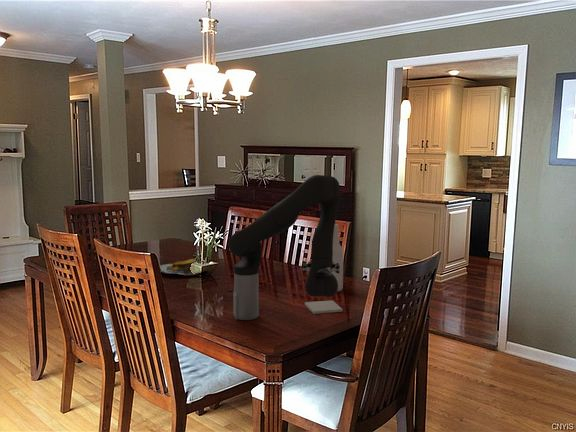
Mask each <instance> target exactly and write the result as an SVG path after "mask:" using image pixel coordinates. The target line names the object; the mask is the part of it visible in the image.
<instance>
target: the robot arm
mask: <svg viewBox="0 0 576 432" xmlns="http://www.w3.org/2000/svg"><path fill="white" fill-rule="evenodd" d="M340 195H341V185H340V182H339V180H338V179H337V178H336V177H334V176H332V175H331V176H330V175H321V174H316V175H315V174H314V175H311V176H309V177H308V178H307V179H305V180H304V181H303V182H302V183H301V184H300V185H299V186H298V187H297V188H296V189H295V190H294V191H293V192H291V193H290V194H289V195H287V196H286V197H285V198H283V199H281V201H279V202H278V203H276V204H275V205H273V206H272V207H270V209H268V210H266V211H265V212H264V213H263V214H261V215H260V216H259V217H258V218H257V219H255V220H253V222H252V223H250V224H249V225H247V226H246V227H244V228H241V229H240V230H238V231H237V232H234V233H233V234H232V235H231V236H230V238H229V241H228V249H229V252H230V253H231V254H233V255H234V256H236V257H241V259H239V261H238V262H236V263H235V265H234V266H233V275H234V276H233V278H234V279H233V280H234V281H233V288H234V290H233V291H232V293H233V294H232V296H233V297H232V298H233V301H232V303H233V312H232V313H233V317H234V319H235V320H241V321H249V320H250V321H251V320H256V319H257V318H259V315H260V314H259V312H260V311H259V269H260V266H261V264H262V263H261V262H262V261H261V260H262V242H263V241H266V240H268V239H270V238H273V237H275V236H278V235H280V234H282V233H284V232H285V231H286V230H288V229H290V228H291V227H292V226H293V225H295V223H297V220H298V218H299V215H300V214H301V213H302V212H303V211H304V210H306V209H308V208H309V207H312V206H313V205H317V204H320V216H319V221H318V223H317V226H316V228H315V231H314V232H313V236H312V239H311V244H310V245H311V249H310V251H311V252H310V253H311V255H310V256H311V258H310V260H309V261H307V262H302V273H306V272H308V275H307V278H306V281H305V286H304V288H305V292H306V294H307V295H308V296H310V297H326V298H327V297H328V298H329V297H330V298H331V297H334V296H335V295H336V294H337V290H338V282H337V279H336V277H335V276H334V275H333V274H332V271H335V272H336V273H340V266H339V263H336V264H334V262H333V258H332V257H333V234H334V226H335V224H336V219H337V212H338V206H339V201H340Z"/></svg>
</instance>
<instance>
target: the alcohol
mask: <svg viewBox="0 0 576 432" xmlns="http://www.w3.org/2000/svg"><path fill="white" fill-rule="evenodd" d="M339 227H340V225H339V224H338V223H335V226H334V234H333V257H332V258H333V262H334V264H336V263H339V266H340V273H336V272H335V271H332V274H333V275H334V276H335V277H336V279H337V282H338V290H337V292H341V291H342V290H343V288H344V287H343V286H344V253H345V252H344V248H343V247H342V246H341V243H340V236H339V235H340V234H339Z"/></svg>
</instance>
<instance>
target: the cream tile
mask: <svg viewBox="0 0 576 432" xmlns="http://www.w3.org/2000/svg"><path fill="white" fill-rule="evenodd" d="M304 306H305V307H306V308H307V309H308V310H309V311H310V312H311V313H312V314H314V315H317V314H318V315H319V314H331V313H341V312H342V313H343V308H342V307H341V306H340V305H339V304H337V303H336V302H335V301H334V300H332V299H331V300H320V301H305V302H304Z"/></svg>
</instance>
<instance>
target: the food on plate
mask: <svg viewBox="0 0 576 432" xmlns="http://www.w3.org/2000/svg"><path fill="white" fill-rule="evenodd" d="M196 259H197V258H190V259H187V260H183V261H182V260H181V261H175V262H173V263H167V264H161V265H160V269H161V271H160V272H161V273H163V274H170V275H172V274H177V275H179V276H180V275H182V276H196V275H199V274H198V273H199V272H198V273H195V274H193V273H192V272H191V270H190V267H191V264H192V263H194V262H196Z"/></svg>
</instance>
